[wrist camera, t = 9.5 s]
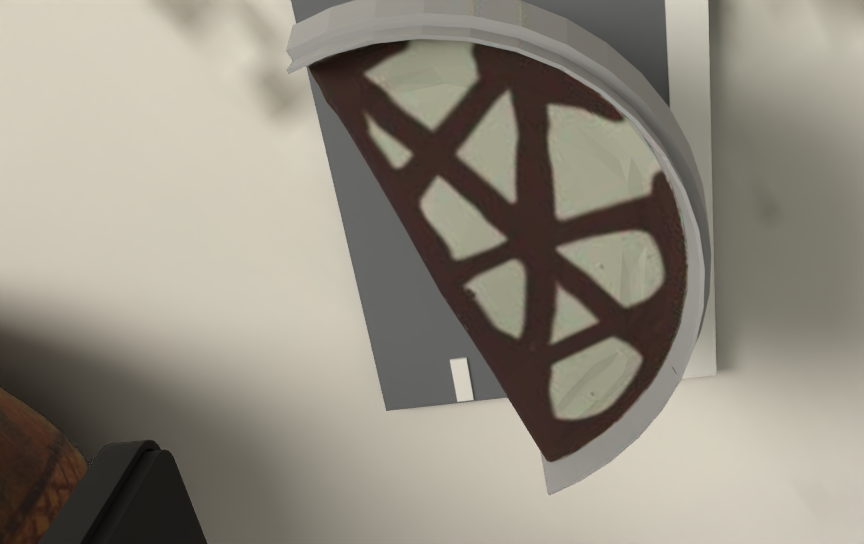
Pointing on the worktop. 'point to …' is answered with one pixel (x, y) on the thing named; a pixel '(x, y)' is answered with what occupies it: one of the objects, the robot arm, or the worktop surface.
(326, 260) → the worktop surface
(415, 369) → the mat
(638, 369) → the food container
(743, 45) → the worktop surface
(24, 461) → the jug
